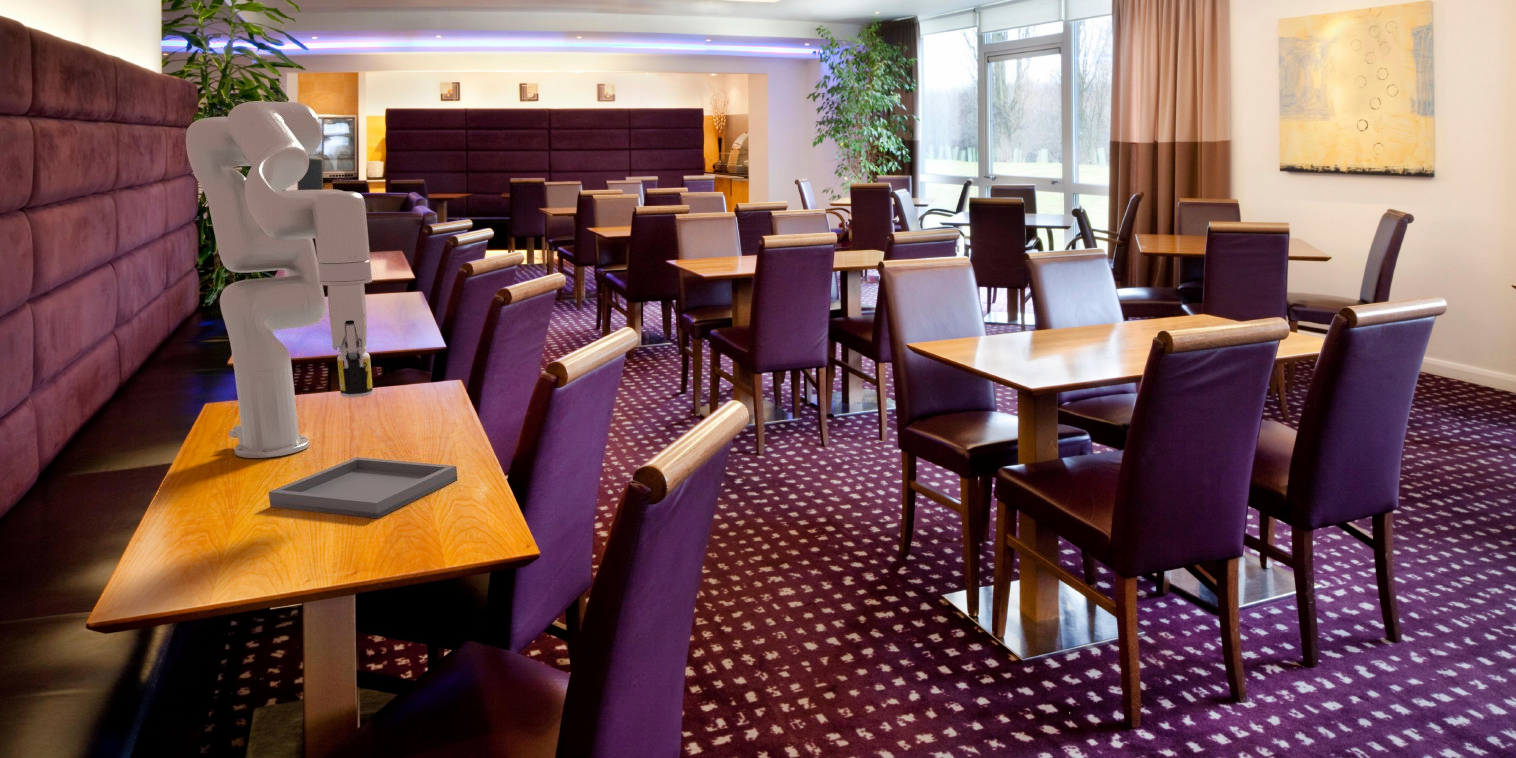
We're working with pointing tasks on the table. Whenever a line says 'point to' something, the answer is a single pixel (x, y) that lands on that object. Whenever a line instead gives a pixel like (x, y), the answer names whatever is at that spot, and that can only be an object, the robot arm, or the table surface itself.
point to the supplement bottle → (341, 365)
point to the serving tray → (363, 487)
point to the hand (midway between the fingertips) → (356, 388)
